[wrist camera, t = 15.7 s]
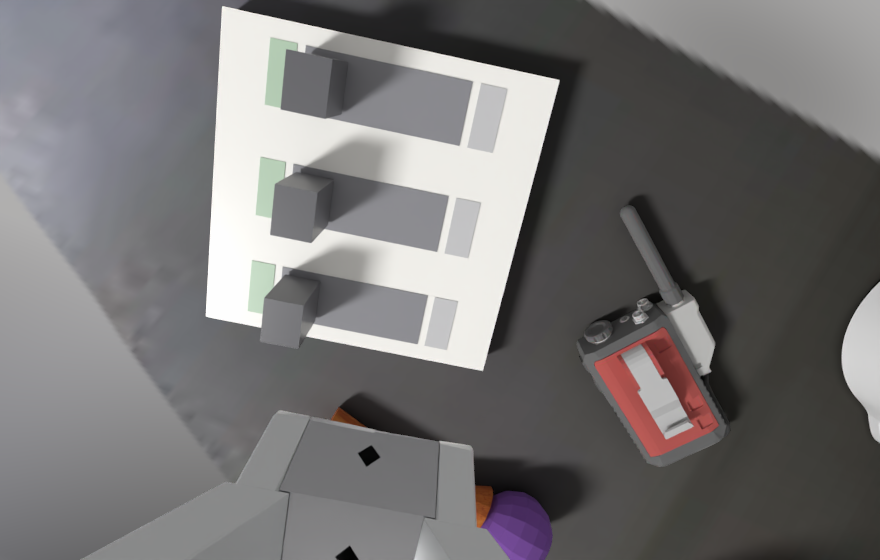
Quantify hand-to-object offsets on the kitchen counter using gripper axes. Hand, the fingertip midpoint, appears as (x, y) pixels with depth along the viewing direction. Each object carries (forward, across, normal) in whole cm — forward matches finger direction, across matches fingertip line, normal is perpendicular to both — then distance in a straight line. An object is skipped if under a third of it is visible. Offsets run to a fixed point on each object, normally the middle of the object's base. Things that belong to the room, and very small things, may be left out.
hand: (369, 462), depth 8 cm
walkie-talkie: (+30, -17, +9) cm, 35 cm away
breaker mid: (+27, +7, +3) cm, 28 cm away
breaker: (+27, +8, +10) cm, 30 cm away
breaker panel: (+29, +4, +3) cm, 30 cm away
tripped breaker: (+27, +8, -4) cm, 28 cm away
